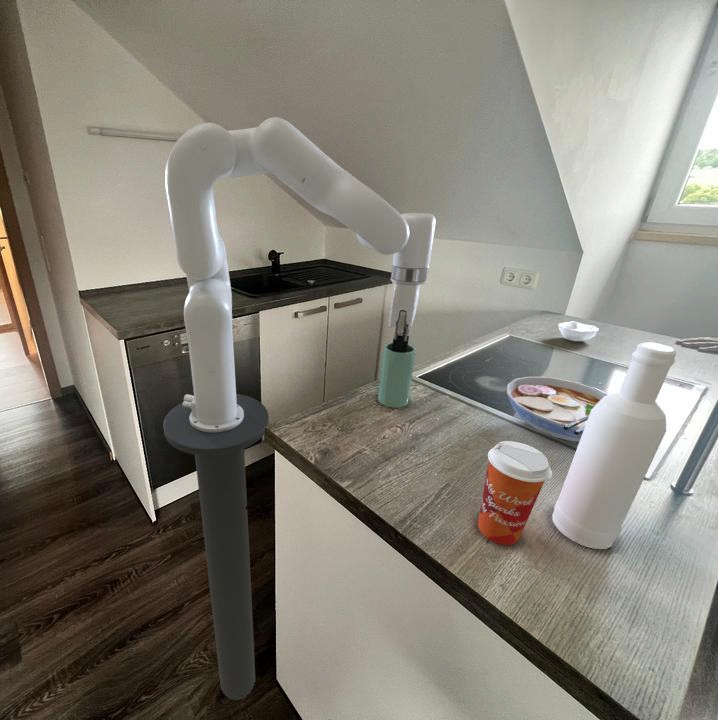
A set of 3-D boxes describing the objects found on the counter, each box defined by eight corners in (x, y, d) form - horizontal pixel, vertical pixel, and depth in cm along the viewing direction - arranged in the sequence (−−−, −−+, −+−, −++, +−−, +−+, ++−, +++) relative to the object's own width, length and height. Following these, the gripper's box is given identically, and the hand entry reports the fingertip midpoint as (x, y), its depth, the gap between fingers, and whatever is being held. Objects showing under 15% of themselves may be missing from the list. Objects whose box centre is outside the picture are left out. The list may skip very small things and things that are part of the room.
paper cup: (462, 530, 59) (481, 455, 53) (481, 503, 64) (500, 432, 58) (518, 562, 54) (546, 483, 48) (534, 530, 59) (561, 455, 53)
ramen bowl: (537, 394, 99) (546, 364, 95) (648, 440, 80) (663, 406, 77) (473, 419, 87) (481, 387, 84) (585, 480, 69) (600, 442, 66)
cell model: (602, 345, 130) (609, 326, 128) (566, 344, 131) (572, 325, 128) (582, 335, 140) (588, 317, 137) (548, 334, 140) (553, 316, 137)
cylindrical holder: (375, 404, 93) (381, 351, 88) (380, 391, 100) (386, 340, 94) (406, 410, 91) (414, 355, 85) (409, 396, 97) (417, 344, 92)
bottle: (617, 560, 54) (712, 365, 42) (551, 535, 58) (621, 350, 46) (610, 522, 60) (691, 343, 48) (551, 502, 64) (612, 331, 52)
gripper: (395, 267, 91) (387, 340, 98) (386, 280, 77) (377, 364, 85) (429, 269, 89) (418, 344, 96) (425, 283, 75) (413, 369, 82)
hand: (399, 352), depth 90 cm, fingers closed
